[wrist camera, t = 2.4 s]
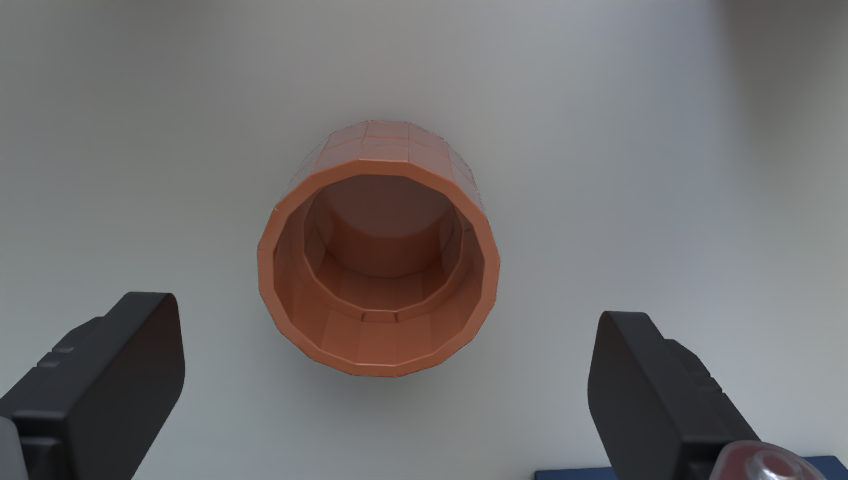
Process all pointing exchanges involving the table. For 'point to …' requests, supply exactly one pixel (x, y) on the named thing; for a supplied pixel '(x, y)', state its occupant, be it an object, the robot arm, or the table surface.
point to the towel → (827, 465)
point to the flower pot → (379, 252)
